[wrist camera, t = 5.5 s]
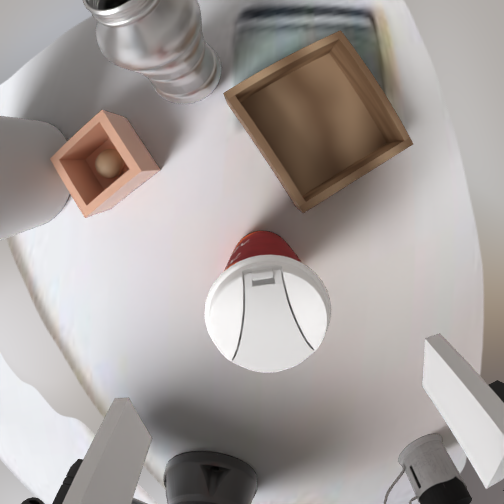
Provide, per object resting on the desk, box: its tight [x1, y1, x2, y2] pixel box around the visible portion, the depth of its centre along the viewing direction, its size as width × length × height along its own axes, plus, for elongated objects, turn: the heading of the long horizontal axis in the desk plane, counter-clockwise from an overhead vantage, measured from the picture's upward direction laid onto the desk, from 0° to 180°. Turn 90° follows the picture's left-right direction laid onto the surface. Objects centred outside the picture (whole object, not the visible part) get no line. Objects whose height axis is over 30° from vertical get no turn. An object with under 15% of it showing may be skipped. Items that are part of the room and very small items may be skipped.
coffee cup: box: [204, 231, 331, 373], centre depth 27 cm, size 8×8×15 cm
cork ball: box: [95, 149, 124, 178], centre depth 29 cm, size 3×3×3 cm
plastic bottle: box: [83, 0, 221, 104], centre depth 19 cm, size 6×7×20 cm
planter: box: [50, 110, 160, 218], centre depth 28 cm, size 7×7×6 cm
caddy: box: [223, 30, 413, 213], centre depth 28 cm, size 12×12×5 cm
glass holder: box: [384, 434, 472, 504], centre depth 36 cm, size 9×14×15 cm, turn 101°
